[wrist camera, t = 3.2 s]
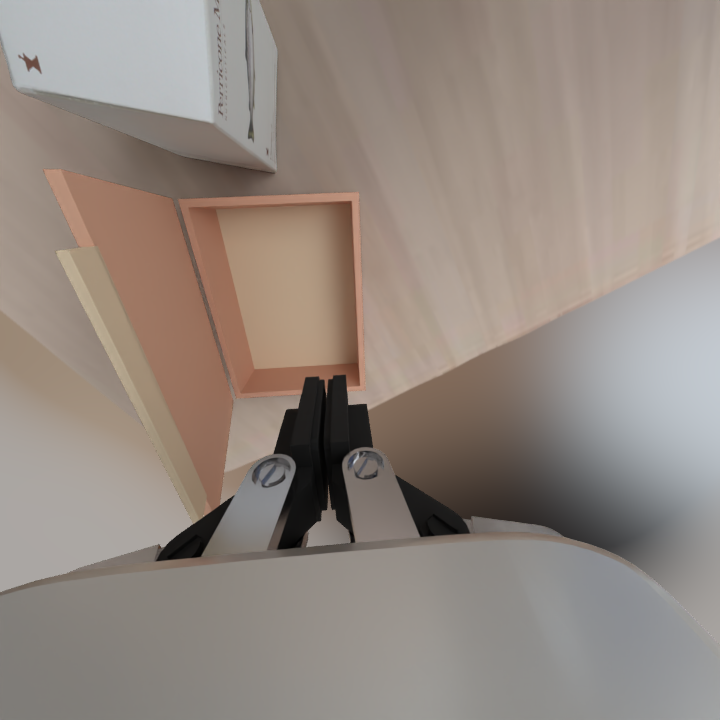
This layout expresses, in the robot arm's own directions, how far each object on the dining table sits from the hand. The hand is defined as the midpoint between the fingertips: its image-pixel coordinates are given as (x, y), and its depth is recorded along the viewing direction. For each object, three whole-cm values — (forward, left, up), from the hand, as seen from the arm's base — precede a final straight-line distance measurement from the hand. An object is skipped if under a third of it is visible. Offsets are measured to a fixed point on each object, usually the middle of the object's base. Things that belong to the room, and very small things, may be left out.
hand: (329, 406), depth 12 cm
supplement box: (+7, -14, -18) cm, 24 cm away
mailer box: (+4, 0, -17) cm, 18 cm away
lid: (+8, -1, -5) cm, 10 cm away
